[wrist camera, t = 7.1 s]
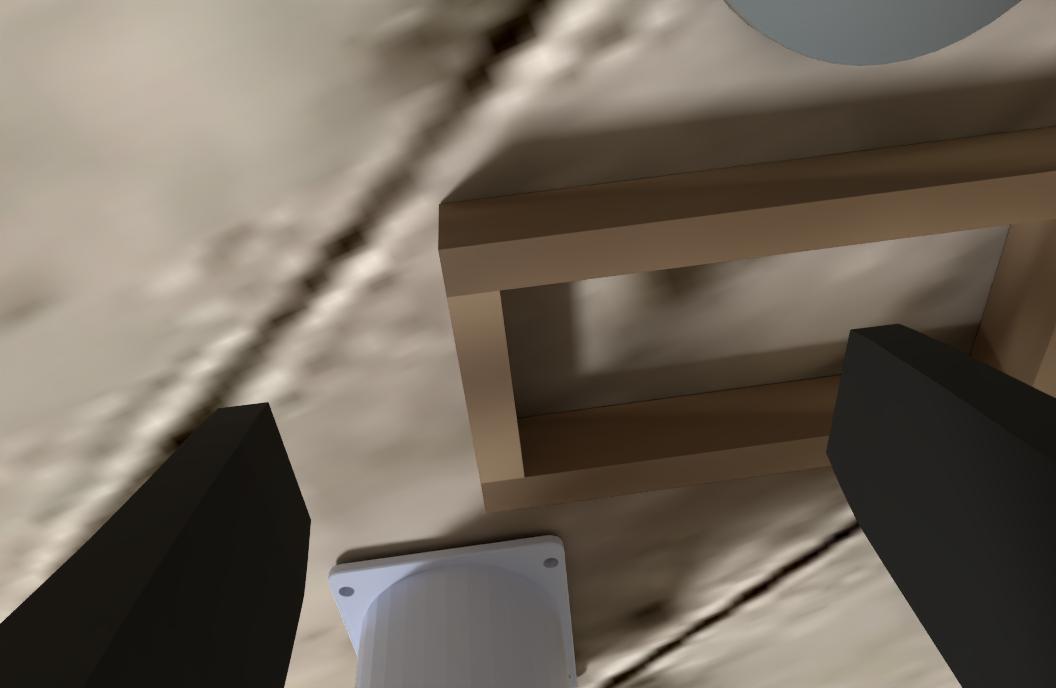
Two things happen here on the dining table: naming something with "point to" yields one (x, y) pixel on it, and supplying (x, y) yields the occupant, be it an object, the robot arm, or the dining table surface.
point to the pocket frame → (716, 236)
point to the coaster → (868, 26)
